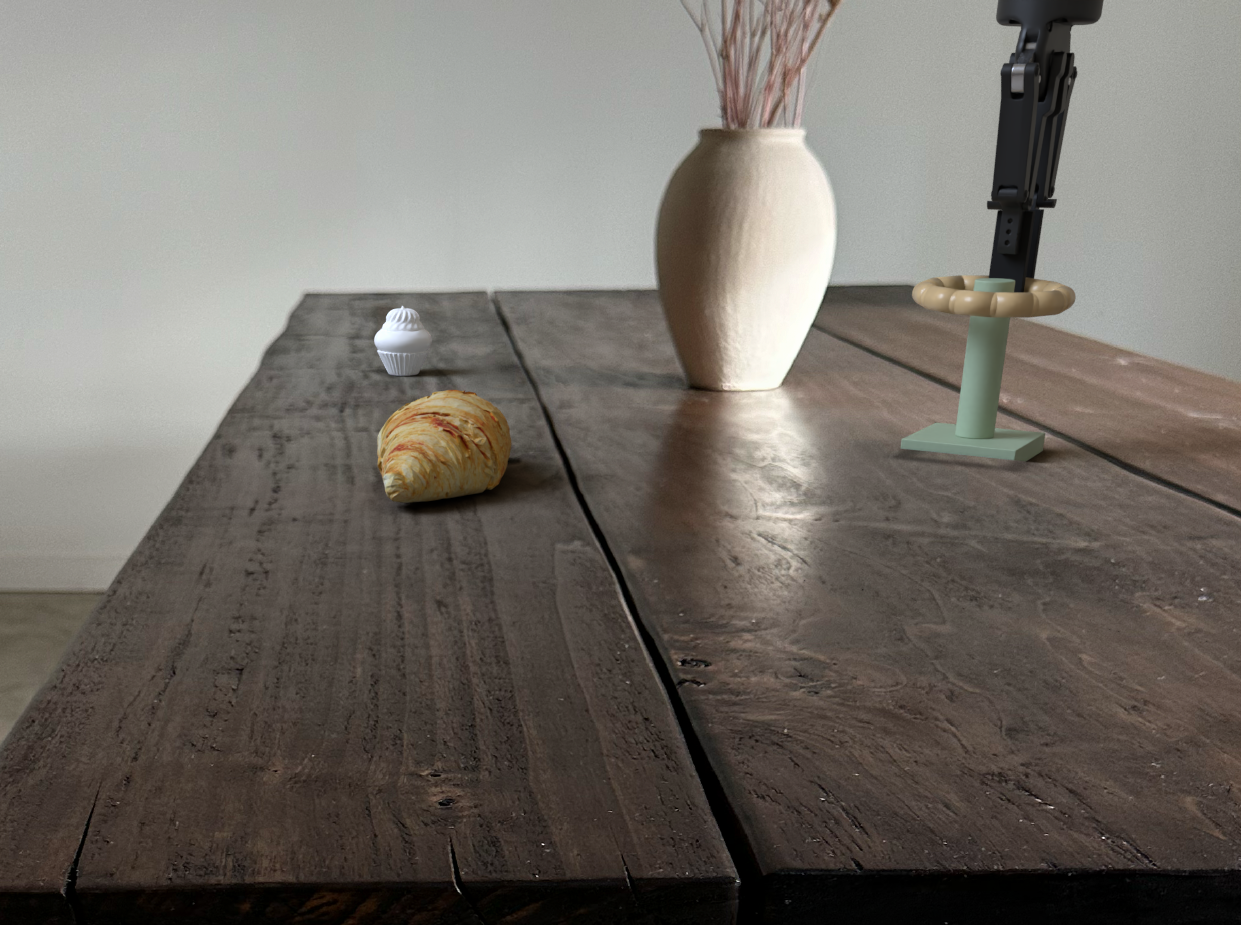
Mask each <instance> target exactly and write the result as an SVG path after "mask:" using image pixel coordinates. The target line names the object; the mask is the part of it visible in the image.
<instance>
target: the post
mask: <svg viewBox="0 0 1241 925" xmlns="http://www.w3.org/2000/svg"><path fill="white" fill-rule="evenodd" d="M1014 288H1015V280H1012V279H1001V278H980V279H976V280H975V283H974V291H982V292H1014ZM1010 323H1011V318H1004V317H980V316H969V323H968V330H967V337H966V347H965V354H964V362H963V369H962V376H961V384H960V392H959V399H958V408H957V415H956V423H946V422H934V423H932V424H929V425H928V426H926V427H924V428H922V429H920V430H918V431H916V432H914V433H911V434H909V435H907V436H905V437H903V438H901V440H900V450H901V449H903V450H911V451H919V452H920V451H921V452H930V453H941V454H951V455H959V456H970V457H979V458H989V459H996V460H997V459H998V460H1006V461H1017V462H1028V461H1029V460H1031V459H1033V458H1034V457H1035V456H1038V455H1039V454H1041V453H1042V452H1043V451H1044V445H1045V439H1046V432H1041V431H1031V430H1019V429H1009V428H998V427H996V423H997V417H998V409H999V408H998V407H999V401H1000V395H1001V388H1002V381H1003V380H1002V379H1003V374H1004V365H1005V358H1006V352H1007V344H1008V337H1009V330H1010Z"/></svg>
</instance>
